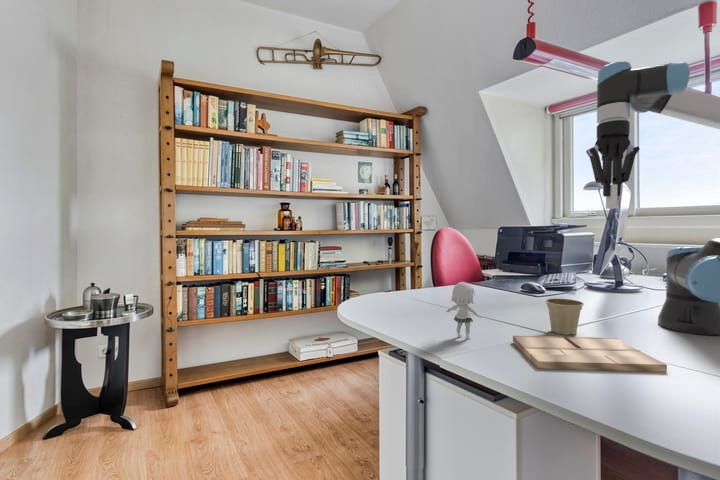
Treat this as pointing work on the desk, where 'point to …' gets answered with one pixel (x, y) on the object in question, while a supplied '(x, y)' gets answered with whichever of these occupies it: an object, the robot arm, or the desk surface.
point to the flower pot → (564, 315)
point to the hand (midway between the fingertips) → (611, 208)
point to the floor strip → (593, 359)
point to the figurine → (463, 306)
